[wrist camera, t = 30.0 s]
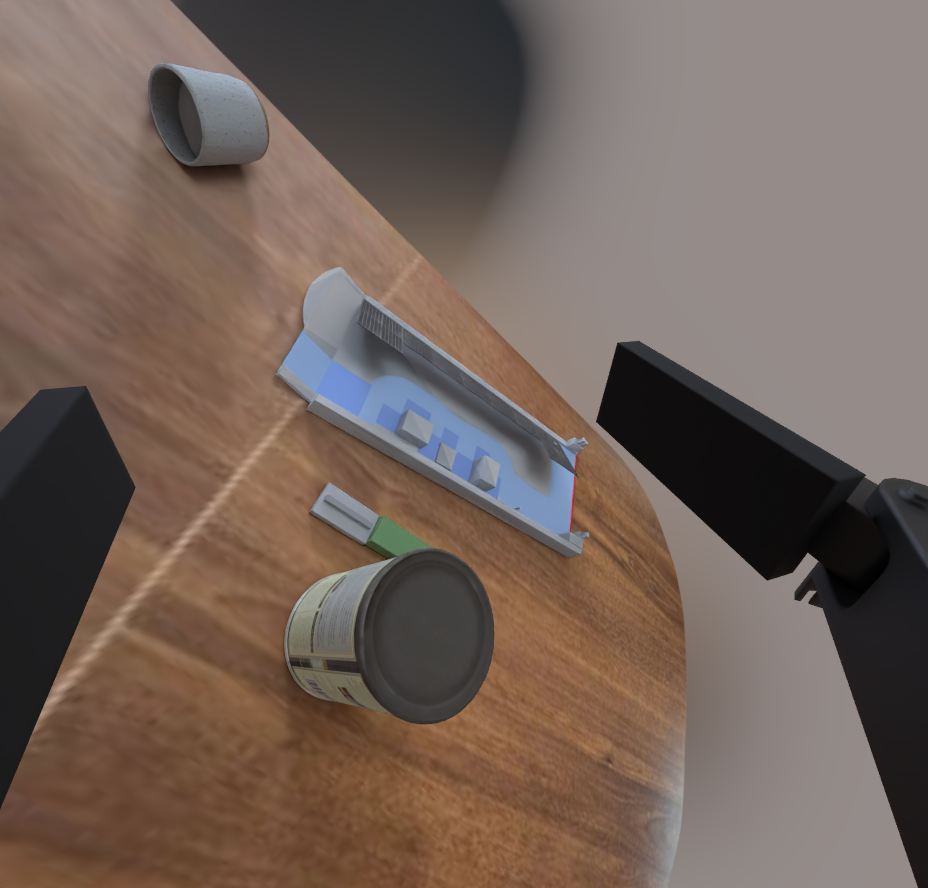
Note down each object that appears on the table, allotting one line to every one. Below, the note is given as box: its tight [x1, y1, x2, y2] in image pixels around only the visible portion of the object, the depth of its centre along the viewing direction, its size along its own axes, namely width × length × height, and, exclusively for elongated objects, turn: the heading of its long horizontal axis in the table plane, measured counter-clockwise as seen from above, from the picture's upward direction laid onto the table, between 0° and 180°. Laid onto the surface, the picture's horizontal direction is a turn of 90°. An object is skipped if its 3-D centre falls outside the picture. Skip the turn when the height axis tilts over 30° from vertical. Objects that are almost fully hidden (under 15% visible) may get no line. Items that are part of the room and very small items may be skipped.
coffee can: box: [284, 548, 494, 724], centre depth 33 cm, size 10×10×14 cm
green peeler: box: [309, 483, 432, 559], centre depth 42 cm, size 16×3×2 cm, turn 67°
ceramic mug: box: [148, 63, 269, 166], centre depth 42 cm, size 11×8×8 cm
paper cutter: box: [276, 267, 589, 557], centre depth 53 cm, size 18×45×6 cm, turn 75°
